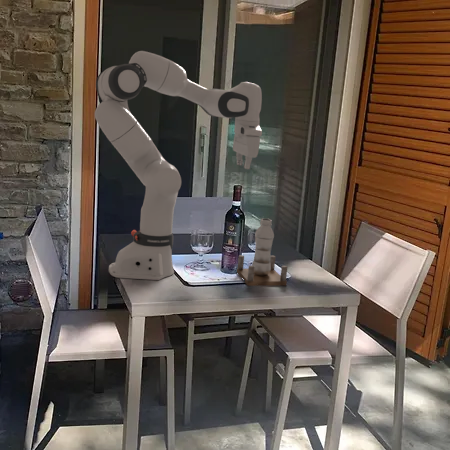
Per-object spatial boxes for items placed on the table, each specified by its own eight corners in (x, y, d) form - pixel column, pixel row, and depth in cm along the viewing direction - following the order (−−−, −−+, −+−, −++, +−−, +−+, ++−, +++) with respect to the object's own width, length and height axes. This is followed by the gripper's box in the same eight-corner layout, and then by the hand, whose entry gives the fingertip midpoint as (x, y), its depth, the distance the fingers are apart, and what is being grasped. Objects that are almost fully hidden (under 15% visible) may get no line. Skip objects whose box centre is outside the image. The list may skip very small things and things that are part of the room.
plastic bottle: (268, 278, 199) (275, 222, 195) (249, 275, 200) (255, 220, 196) (271, 273, 205) (277, 219, 201) (252, 270, 207) (258, 216, 202)
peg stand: (247, 285, 195) (249, 267, 193) (236, 272, 208) (238, 255, 206) (286, 285, 199) (288, 267, 197) (272, 272, 212) (274, 255, 210)
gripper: (230, 125, 216) (227, 162, 219) (246, 130, 197) (242, 170, 200) (246, 126, 218) (243, 163, 221) (263, 131, 198) (259, 171, 202)
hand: (243, 166), depth 210 cm, fingers open, 8 cm apart
